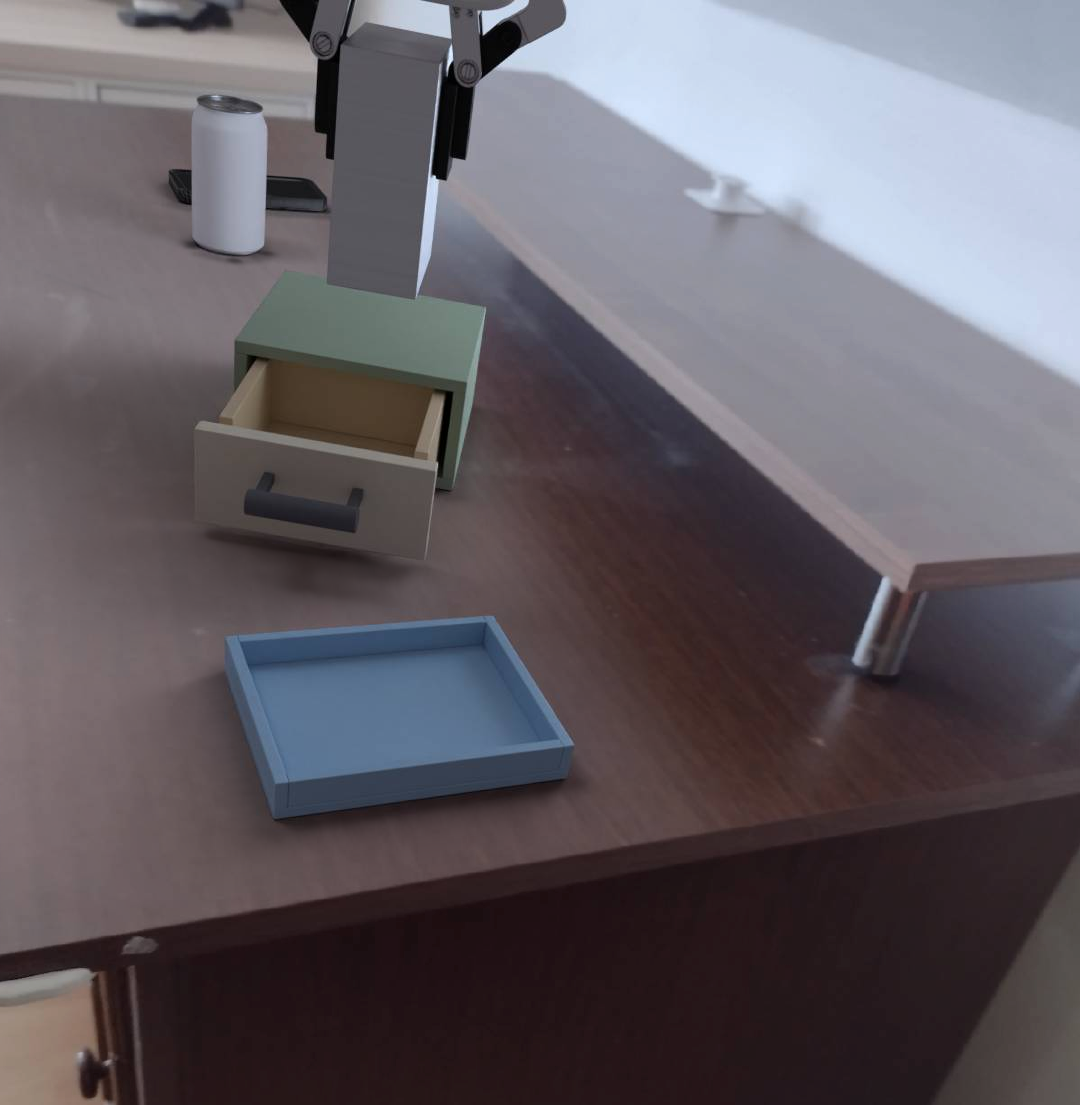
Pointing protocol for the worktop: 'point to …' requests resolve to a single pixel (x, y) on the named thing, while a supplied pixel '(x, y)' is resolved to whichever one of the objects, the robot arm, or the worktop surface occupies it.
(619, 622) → the worktop surface
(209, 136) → the can
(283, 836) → the worktop surface
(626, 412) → the worktop surface
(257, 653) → the tray
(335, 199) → the brushed metal block
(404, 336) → the cabinet
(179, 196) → the phone
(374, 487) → the drawer
